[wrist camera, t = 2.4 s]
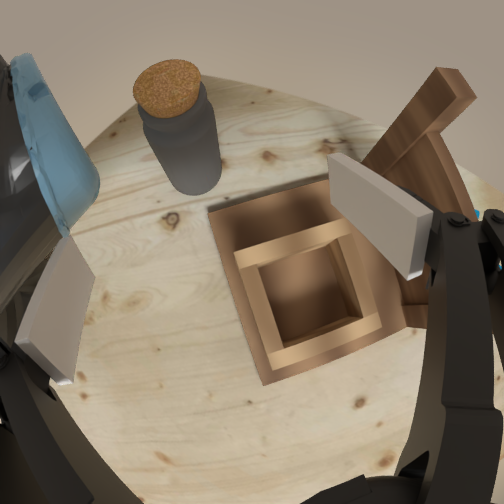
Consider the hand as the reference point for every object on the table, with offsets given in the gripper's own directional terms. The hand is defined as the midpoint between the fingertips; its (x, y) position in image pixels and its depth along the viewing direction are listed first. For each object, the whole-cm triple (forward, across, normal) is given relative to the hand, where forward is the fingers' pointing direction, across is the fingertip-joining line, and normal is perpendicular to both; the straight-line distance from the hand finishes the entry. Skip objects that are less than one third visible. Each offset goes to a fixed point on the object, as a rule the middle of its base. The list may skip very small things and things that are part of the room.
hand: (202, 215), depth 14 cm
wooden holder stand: (+9, +9, -14) cm, 19 cm away
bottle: (+19, 0, -4) cm, 20 cm away
